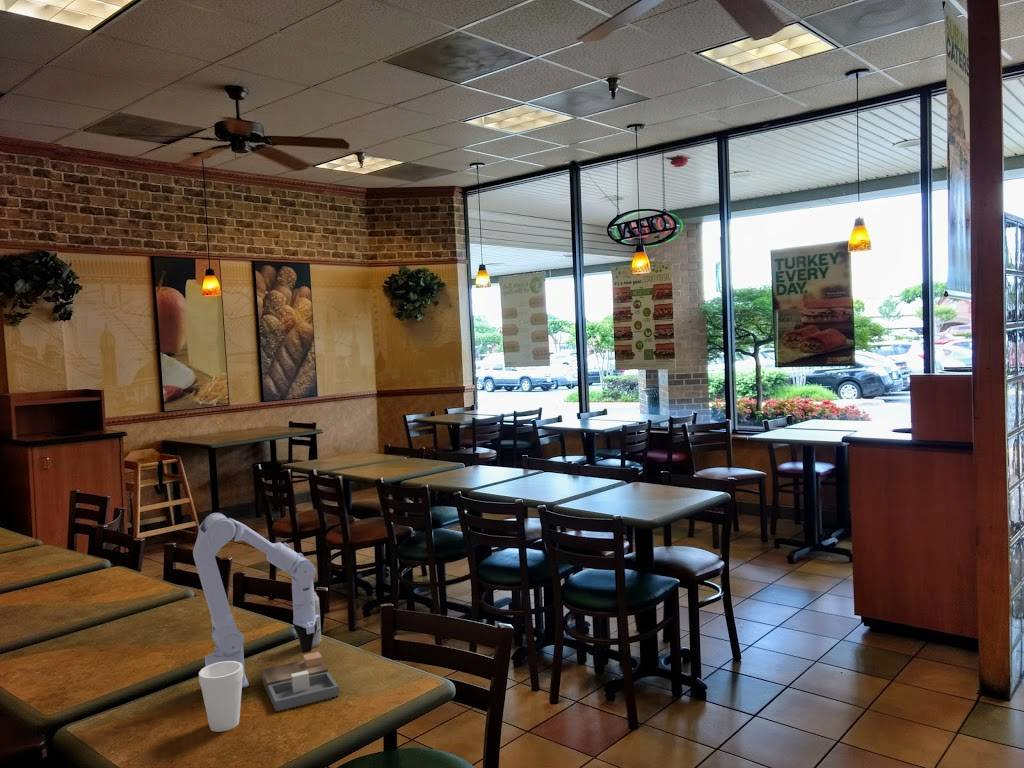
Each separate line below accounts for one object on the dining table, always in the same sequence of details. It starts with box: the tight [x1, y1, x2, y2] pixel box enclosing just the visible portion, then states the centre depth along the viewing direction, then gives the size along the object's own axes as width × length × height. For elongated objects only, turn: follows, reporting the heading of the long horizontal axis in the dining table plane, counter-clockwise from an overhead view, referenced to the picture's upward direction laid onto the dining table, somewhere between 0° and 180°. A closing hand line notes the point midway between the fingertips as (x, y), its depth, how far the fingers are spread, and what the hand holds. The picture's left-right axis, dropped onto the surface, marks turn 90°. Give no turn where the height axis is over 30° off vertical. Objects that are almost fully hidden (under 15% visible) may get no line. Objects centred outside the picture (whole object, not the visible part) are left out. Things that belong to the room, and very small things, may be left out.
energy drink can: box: [312, 591, 322, 648], centre depth 223 cm, size 6×6×15 cm
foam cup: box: [198, 661, 244, 733], centre depth 176 cm, size 10×9×13 cm
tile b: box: [302, 651, 323, 668], centre depth 202 cm, size 4×4×2 cm
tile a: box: [291, 671, 310, 693], centre depth 192 cm, size 4×4×2 cm
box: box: [267, 671, 340, 712], centre depth 190 cm, size 15×10×2 cm
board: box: [261, 660, 329, 696], centre depth 199 cm, size 15×10×3 cm, turn 117°
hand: (306, 651), depth 208 cm, fingers closed
